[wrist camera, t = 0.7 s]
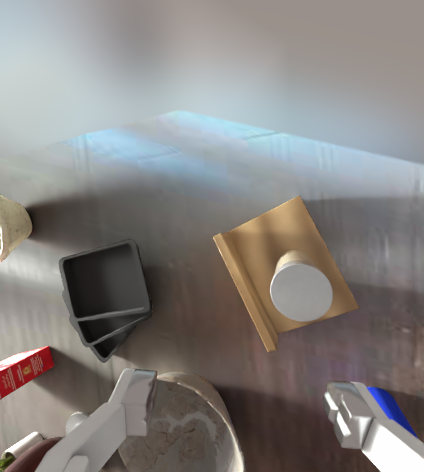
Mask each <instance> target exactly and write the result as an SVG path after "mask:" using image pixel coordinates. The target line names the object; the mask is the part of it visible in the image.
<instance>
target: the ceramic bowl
mask: <svg viewBox="0 0 424 472" xmlns="http://www.w3.org/2000/svg"><path fill="white" fill-rule="evenodd" d="M156 383H157V397H156V402H155V406H154V409H153V410H152V411H151V422H150V425H149V429H148V433H147V436H126V438H125V440H124V441H123V442H122V443H121V445H120V446H119V447H118V452H119V454H120V457H121V459H122V461H123V463H124V464H125V465H126V469H127V471H128V472H246V471H245V460H244V455H243V452H242V449H241V448H240V444H239V441H238V438H237V435H236V432H235V429H234V427H233V424H232V421H231V419H230V416H229V413H228V411H227V408H226V406H225V404H224V402H223V400H222V398H221V397H220V395H219V393H218V391H217V390H216V389H215V388H214V387H213V386H212V385H211V384H210V383H209V382H208V381H207V380H206V379H205V378H202V377H201V376H198V375H195V374H190V373H165V374H161V375H157V380H156Z"/></svg>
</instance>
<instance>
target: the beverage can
mask: <svg viewBox="0 0 424 472" xmlns="http://www.w3.org/2000/svg"><path fill="white" fill-rule="evenodd" d="M367 389H368V390H369V392H370V393H371V394H372V396H373V397H374V399H375V400H376V401H377V403H378V404H379V406H380V407H381V408H382V410H383V411H384V413H385V414H386V415H387V417H388V418H389V419H392V420H394V421H395V422H397V423H398V424H399V425H400V426H402V427H403V428H404V429H406V430H407V431H408V432H410V433H411V434H412V435H414V436H415V437H416V438H417V439H418V437H417V436H416V434H415V432H414V431H413V429H412V427H411V426H410V424H409V422H408V421H407V419H406V418H405V416H404V414H403V413H402V411H401V409H400V408H399V406H398V404H397V403H396V401H395V400H394V398H393V397H392V396H391V395H390V394H389V393H388V392H387V391H385V390H383V389H380V388H377V387H367Z"/></svg>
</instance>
